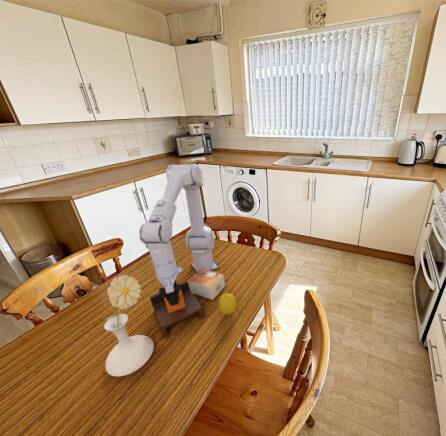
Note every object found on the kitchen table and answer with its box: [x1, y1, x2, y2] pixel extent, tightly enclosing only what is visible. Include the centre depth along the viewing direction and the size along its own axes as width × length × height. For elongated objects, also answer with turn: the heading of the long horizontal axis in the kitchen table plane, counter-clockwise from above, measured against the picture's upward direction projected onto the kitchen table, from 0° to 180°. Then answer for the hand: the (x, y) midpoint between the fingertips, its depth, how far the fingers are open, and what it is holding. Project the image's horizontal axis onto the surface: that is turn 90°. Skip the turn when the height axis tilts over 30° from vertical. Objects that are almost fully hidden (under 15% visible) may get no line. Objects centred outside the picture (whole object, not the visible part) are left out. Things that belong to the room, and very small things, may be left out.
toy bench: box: [149, 280, 205, 338], centre depth 76 cm, size 12×12×7 cm
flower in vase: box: [102, 274, 155, 377], centre depth 60 cm, size 13×11×25 cm
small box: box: [186, 269, 226, 301], centre depth 87 cm, size 8×6×10 cm
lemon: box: [218, 292, 238, 316], centre depth 76 cm, size 6×6×8 cm
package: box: [164, 289, 185, 313], centre depth 75 cm, size 5×4×6 cm
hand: (173, 296), depth 74 cm, fingers open, 7 cm apart
